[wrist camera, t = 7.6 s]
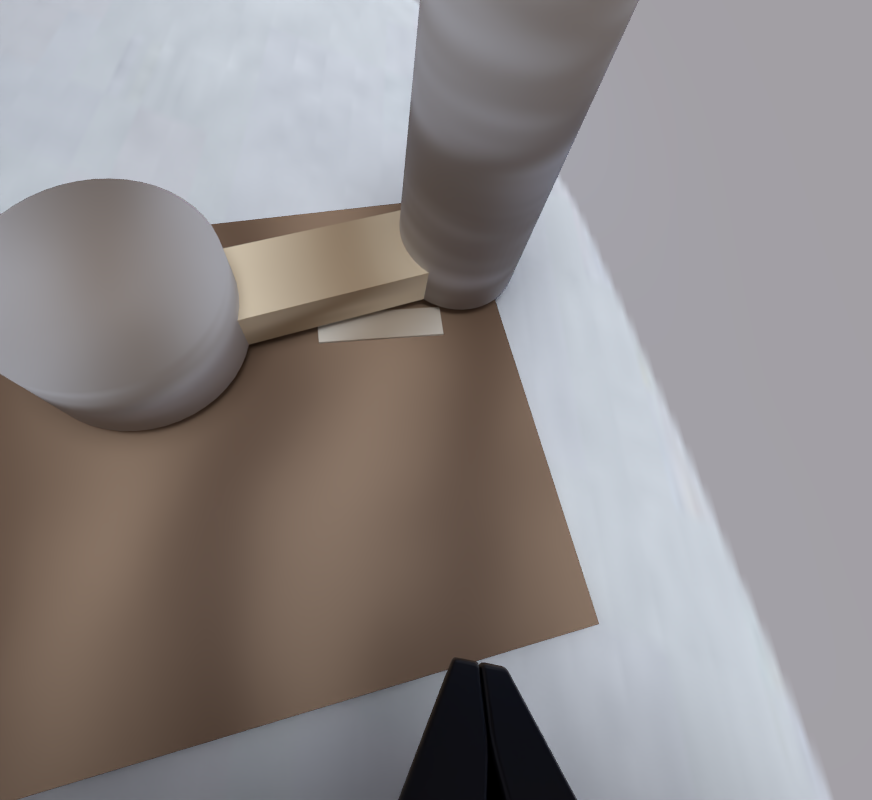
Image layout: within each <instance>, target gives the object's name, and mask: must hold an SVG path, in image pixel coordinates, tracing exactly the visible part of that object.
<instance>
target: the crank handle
mask: <svg viewBox="0 0 872 800" xmlns="http://www.w3.org/2000/svg"><path fill="white" fill-rule="evenodd" d="M638 1H639V0H420V7H419V17H418V28H417V39H416V50H415V61H414V71H413V82H412V93H411V104H410V115H409V125H408V136H407V147H406V158H405V169H404V179H403V190H402V201H401V210H399V211H395V212H390V213H385V214H381V215H376V216H372V217H367V218H362V219H358V220H353V221H348V222H344V223H339V224H334V225H330V226H325V227H320V228H316V229H311V230H307V231H302V232H297V233H293V234H288V235H283V236H279V237H274V238H269V239H265V240H260V241H256V242H251V243H246V244H242V245H237V246H232V247H228V248H222V245H221V243H220V240H219V238H218V236H217V234H216V232H215V231H214V229H213V227H212V226H211V224H210V223H209V222H208V221H207V219H206V218H205V217H204V216H203V215H202V214H201V213H200V212H199V211H198V210H197V209H196V208H195V207H194V206H192V205H191V204H190V203H188V202H187V201H185V200H184V199H183V198H181V197H179V196H177V195H175V194H173V193H172V192H170V191H167V190H165V189H162V188H160V187H157V186H154V185H150V184H146V183H143V182H137V181H131V180H124V179H91V180H83V181H76V182H72V183H67V184H63V185H59V186H56V187H53V188H50V189H47V190H44V191H41V192H39V193H37V194H35V195H32V196H30V197H28V198H26V199H24V200H23V201H21V202H19V203H17V204H15V205H14V206H12V207H11V208H9V209H8V210H7V211H5V212H4V213H2V214H1V215H0V374H1V375H3V376H5V377H6V378H8V379H10V380H11V381H13V382H15V383H16V384H18V385H20V386H21V387H23V388H25V389H26V390H28V391H30V392H31V393H33V394H35V395H36V396H38V397H40V398H41V399H43V400H44V401H46V402H48V403H49V404H51V405H53V406H54V407H56V408H58V409H59V410H61V411H63V412H64V413H66V414H68V415H70V416H71V417H73V418H75V419H76V420H78V421H81V422H83V423H86V424H88V425H91V426H94V427H98V428H102V429H107V430H115V431H141V430H150V429H155V428H159V427H163V426H167V425H170V424H173V423H176V422H178V421H181V420H183V419H185V418H187V417H189V416H191V415H193V414H195V413H197V412H198V411H200V410H201V409H203V408H205V407H206V406H207V405H209V404H210V403H211V402H212V401H214V400H215V399H216V398H217V397H218V396H219V395H220V394H221V393H222V392H223V391H224V390H225V389H226V388H227V387H228V386H229V384H230V383H231V382H232V381H233V379H234V378H235V376H236V375H237V373H238V371H239V370H240V368H241V366H242V364H243V361H244V359H245V356H246V354H247V350H248V346H249V344H253V343H257V342H261V341H265V340H269V339H272V338H276V337H280V336H284V335H288V334H292V333H295V332H299V331H303V330H307V329H311V328H315V327H318V326H322V325H326V324H330V323H334V322H338V321H341V320H345V319H349V318H353V317H357V316H361V315H364V314H368V313H372V312H376V311H380V310H384V309H387V308H391V307H395V306H399V305H403V304H407V303H410V302H414V301H418V300H422V299H424V300H426V301H428V302H430V303H432V304H435V305H437V306H440V307H444V308H448V309H456V310H465V309H473V308H477V307H480V306H483V305H485V304H488V303H490V302H491V301H493V300H494V299H496V298H497V297H498V296H499V295H500V294H501V293H502V292H503V291H504V289H505V288H506V286H507V285H508V283H509V281H510V279H511V276H512V274H513V272H514V270H515V268H516V266H517V263H518V261H519V259H520V257H521V255H522V253H523V250H524V248H525V246H526V244H527V242H528V240H529V237H530V235H531V233H532V231H533V229H534V227H535V224H536V222H537V220H538V218H539V216H540V214H541V211H542V209H543V207H544V205H545V203H546V201H547V198H548V196H549V194H550V192H551V190H552V188H553V185H554V183H555V181H556V179H557V177H558V175H559V172H560V170H561V168H562V166H563V164H564V162H565V159H566V157H567V155H568V153H569V151H570V149H571V146H572V144H573V142H574V140H575V138H576V136H577V133H578V131H579V129H580V127H581V125H582V122H583V120H584V118H585V116H586V114H587V112H588V109H589V107H590V105H591V103H592V101H593V99H594V96H595V94H596V92H597V90H598V88H599V86H600V83H601V81H602V79H603V77H604V75H605V73H606V71H607V68H608V66H609V64H610V62H611V60H612V58H613V55H614V53H615V51H616V49H617V47H618V45H619V42H620V40H621V38H622V36H623V34H624V32H625V29H626V27H627V25H628V23H629V21H630V18H631V16H632V14H633V12H634V10H635V8H636V5H637V3H638Z"/></svg>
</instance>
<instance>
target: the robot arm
mask: <svg viewBox="0 0 872 800" xmlns="http://www.w3.org/2000/svg"><path fill="white" fill-rule="evenodd" d="M398 800H577V799H576V797H575V795H574V793H573V792H572V790H571V788H570V786H569V784H568V782H567V780H566V778H565V777H564V775H563V773H562V771H561V769H560V767H559V765H558V763H557V762H556V760H555V758H554V756H553V754H552V752H551V750H550V748H549V747H548V745H547V743H546V741H545V739H544V737H543V735H542V733H541V732H540V730H539V728H538V726H537V724H536V722H535V720H534V718H533V717H532V715H531V713H530V711H529V709H528V707H527V705H526V703H525V702H524V700H523V698H522V696H521V694H520V692H519V690H518V689H517V687H516V685H515V683H514V681H513V679H512V677H511V675H510V674H509V672H508V670H507V669H506V668H504V667H503V666H499V665H494V664H489V663H480V664H479V665H478V663H477V662H476V661H473V660H468V659H463V658H458V657H454V658H453V659H452V660H451V662H450V665H449V667H448V670H447V673H446V675H445V678H444V681H443V683H442V686H441V688H440V691H439V694H438V696H437V699H436V702H435V704H434V707H433V710H432V712H431V715H430V717H429V720H428V723H427V725H426V728H425V731H424V733H423V736H422V738H421V741H420V744H419V746H418V749H417V752H416V754H415V757H414V760H413V762H412V765H411V767H410V770H409V773H408V775H407V778H406V781H405V783H404V786H403V788H402V791H401V794H400V796H399V799H398Z"/></svg>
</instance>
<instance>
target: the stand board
mask: <svg viewBox="0 0 872 800" xmlns="http://www.w3.org/2000/svg"><path fill="white" fill-rule="evenodd" d="M399 210H401V203H398V204H389V205H380V206H371V207H362V208H354V209H345V210H336V211H327V212H318V213H309V214H300V215H291V216H282V217H273V218H264V219H255V220H246V221H237V222H229V223H220V224H211V226H212V227H213V229H214V231H215V232H216V234H217V236H218V238H219V240H220V243H221V245H222V248H228V247H232V246H237V245H242V244H246V243H251V242H256V241H260V240H265V239H269V238H274V237H279V236H283V235H288V234H293V233H297V232H302V231H307V230H311V229H316V228H320V227H325V226H330V225H334V224H339V223H344V222H348V221H353V220H358V219H362V218H367V217H372V216H376V215H381V214H385V213H390V212H395V211H399ZM597 624H599V622H598V619H597V616H596V613H595V610H594V607H593V604H592V600H591V597H590V594H589V591H588V588H587V585H586V582H585V579H584V576H583V572H582V569H581V566H580V563H579V560H578V557H577V554H576V551H575V548H574V544H573V541H572V538H571V535H570V532H569V529H568V526H567V523H566V520H565V516H564V513H563V510H562V507H561V504H560V501H559V498H558V495H557V492H556V488H555V485H554V482H553V479H552V476H551V473H550V470H549V467H548V464H547V460H546V457H545V454H544V451H543V448H542V445H541V442H540V439H539V436H538V432H537V429H536V426H535V423H534V420H533V417H532V414H531V411H530V408H529V405H528V401H527V398H526V395H525V392H524V389H523V386H522V383H521V380H520V377H519V373H518V370H517V367H516V364H515V361H514V358H513V355H512V352H511V349H510V345H509V342H508V339H507V336H506V333H505V330H504V327H503V324H502V321H501V317H500V314H499V311H498V308H497V305H496V302H495V299H494V300H493V301H491V302H490V303H488V304H485V305H483V306H480V307H477V308H473V309H465V310H456V309H448V308H444V307H440V306H437V305H435V304H432V303H430V302H428V301H426V300H424V299H422V300H418V301H414V302H410V303H407V304H403V305H399V306H395V307H391V308H387V309H384V310H380V311H376V312H372V313H368V314H364V315H361V316H357V317H353V318H349V319H345V320H341V321H338V322H334V323H330V324H326V325H322V326H318V327H315V328H311V329H307V330H303V331H299V332H295V333H292V334H288V335H284V336H280V337H276V338H272V339H269V340H265V341H261V342H257V343H253V344H249V346H248V350H247V354H246V356H245V359H244V361H243V364H242V366H241V368H240V370H239V371H238V373H237V375H236V376H235V378H234V379H233V381H232V382H231V383H230V384H229V386H228V387H227V388H226V389H225V390H224V391H223V392H222V393H221V394H220V395H219V396H218V397H217V398H216V399H215V400H214V401H212V402H211V403H210V404H209V405H207V406H206V407H205V408H203V409H201V410H200V411H198V412H197V413H195V414H193V415H191V416H189V417H187V418H185V419H183V420H181V421H178V422H176V423H173V424H170V425H167V426H163V427H159V428H155V429H150V430H141V431H115V430H107V429H102V428H98V427H94V426H91V425H88V424H86V423H83V422H81V421H78V420H76V419H75V418H73V417H71V416H70V415H68V414H66V413H64V412H63V411H61V410H59V409H58V408H56V407H54V406H53V405H51V404H49V403H48V402H46V401H44V400H43V399H41V398H40V397H38V396H36V395H35V394H33V393H31V392H30V391H28V390H26V389H25V388H23V387H21V386H20V385H18V384H16V383H15V382H13V381H11V380H10V379H8V378H6V377H5V376H3V375H1V374H0V800H17V799H20V798H24V797H27V796H30V795H34V794H37V793H40V792H43V791H47V790H50V789H53V788H57V787H60V786H63V785H67V784H70V783H73V782H77V781H80V780H83V779H87V778H90V777H93V776H97V775H100V774H103V773H106V772H110V771H113V770H116V769H120V768H123V767H126V766H130V765H133V764H136V763H140V762H143V761H146V760H150V759H153V758H156V757H159V756H163V755H166V754H169V753H173V752H176V751H179V750H183V749H186V748H189V747H193V746H196V745H199V744H203V743H206V742H209V741H213V740H216V739H219V738H222V737H226V736H229V735H232V734H236V733H239V732H242V731H246V730H249V729H252V728H256V727H259V726H262V725H266V724H269V723H272V722H275V721H279V720H282V719H285V718H289V717H292V716H295V715H299V714H302V713H305V712H309V711H312V710H315V709H319V708H322V707H325V706H329V705H332V704H335V703H338V702H342V701H345V700H348V699H352V698H355V697H358V696H362V695H365V694H368V693H372V692H375V691H378V690H382V689H385V688H388V687H391V686H395V685H398V684H401V683H405V682H408V681H411V680H415V679H418V678H421V677H425V676H428V675H431V674H435V673H438V672H441V671H445V670H448V667H449V665H450V662H451V660H452V659H453V658H454V657H458V658H463V659H468V660H473V661H478V660H481V659H484V658H488V657H491V656H494V655H498V654H501V653H504V652H508V651H511V650H514V649H517V648H521V647H524V646H527V645H531V644H534V643H537V642H541V641H544V640H547V639H551V638H554V637H557V636H561V635H564V634H567V633H570V632H574V631H577V630H580V629H584V628H587V627H590V626H594V625H597Z"/></svg>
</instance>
